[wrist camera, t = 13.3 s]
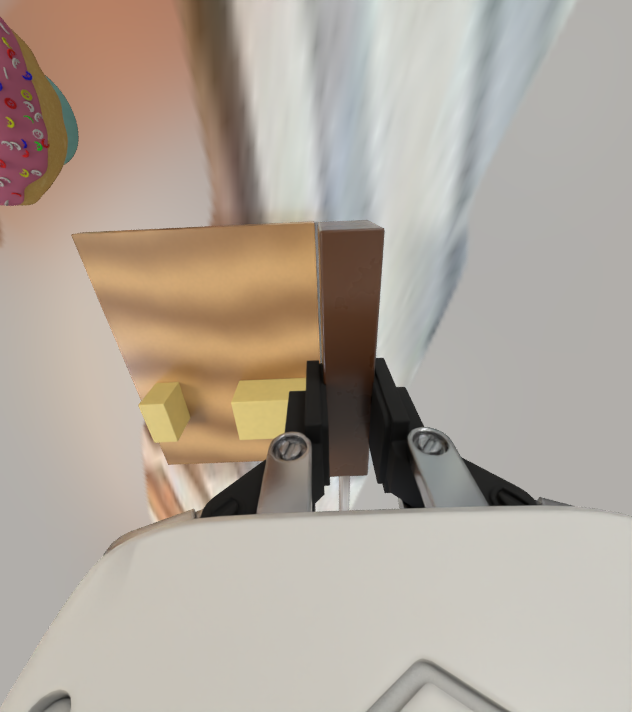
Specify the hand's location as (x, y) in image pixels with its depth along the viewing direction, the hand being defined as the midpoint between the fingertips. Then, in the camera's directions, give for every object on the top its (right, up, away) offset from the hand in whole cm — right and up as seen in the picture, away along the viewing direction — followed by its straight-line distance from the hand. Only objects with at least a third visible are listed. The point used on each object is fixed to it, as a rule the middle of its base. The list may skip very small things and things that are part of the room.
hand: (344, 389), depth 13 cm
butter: (-5, -2, +13) cm, 14 cm away
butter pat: (-14, -2, +13) cm, 19 cm away
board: (-9, +1, +13) cm, 16 cm away
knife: (0, -3, +2) cm, 4 cm away
